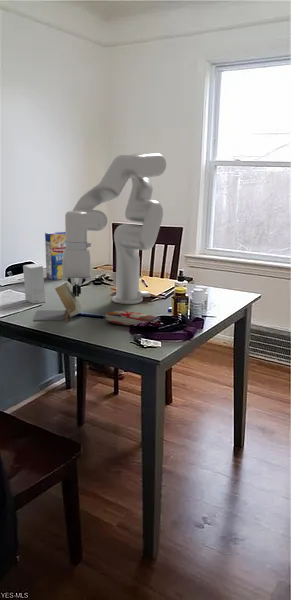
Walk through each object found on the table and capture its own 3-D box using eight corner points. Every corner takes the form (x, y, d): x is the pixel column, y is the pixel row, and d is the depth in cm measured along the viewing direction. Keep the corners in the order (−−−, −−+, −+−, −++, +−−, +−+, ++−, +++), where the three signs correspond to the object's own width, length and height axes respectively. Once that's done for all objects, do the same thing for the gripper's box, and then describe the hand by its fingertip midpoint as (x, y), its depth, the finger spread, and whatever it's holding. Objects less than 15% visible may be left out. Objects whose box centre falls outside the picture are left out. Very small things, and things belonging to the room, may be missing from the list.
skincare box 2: (74, 312, 184) (59, 284, 182) (84, 308, 183) (69, 279, 181) (69, 317, 178) (53, 288, 176) (79, 313, 177) (64, 283, 175)
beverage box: (46, 277, 241) (44, 233, 235) (66, 275, 247) (65, 231, 241) (51, 280, 235) (50, 234, 229) (72, 277, 241) (71, 233, 235)
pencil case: (119, 317, 181) (119, 304, 180) (164, 327, 171) (165, 313, 170) (101, 324, 172) (101, 311, 171) (148, 335, 162) (148, 321, 161)
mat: (66, 311, 186) (66, 310, 186) (64, 320, 175) (64, 319, 174) (37, 311, 185) (37, 310, 185) (33, 321, 173) (33, 320, 173)
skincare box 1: (45, 302, 197) (44, 266, 193) (31, 304, 194) (30, 267, 190) (38, 297, 204) (36, 262, 200) (24, 299, 201) (22, 264, 197)
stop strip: (69, 310, 187) (69, 306, 187) (67, 321, 174) (67, 317, 173) (66, 310, 187) (66, 306, 187) (64, 321, 174) (64, 317, 173)
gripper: (97, 244, 178) (97, 293, 183) (55, 244, 177) (56, 293, 181) (97, 248, 171) (97, 298, 176) (54, 247, 169) (55, 298, 174)
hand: (76, 295), depth 179 cm, fingers closed
